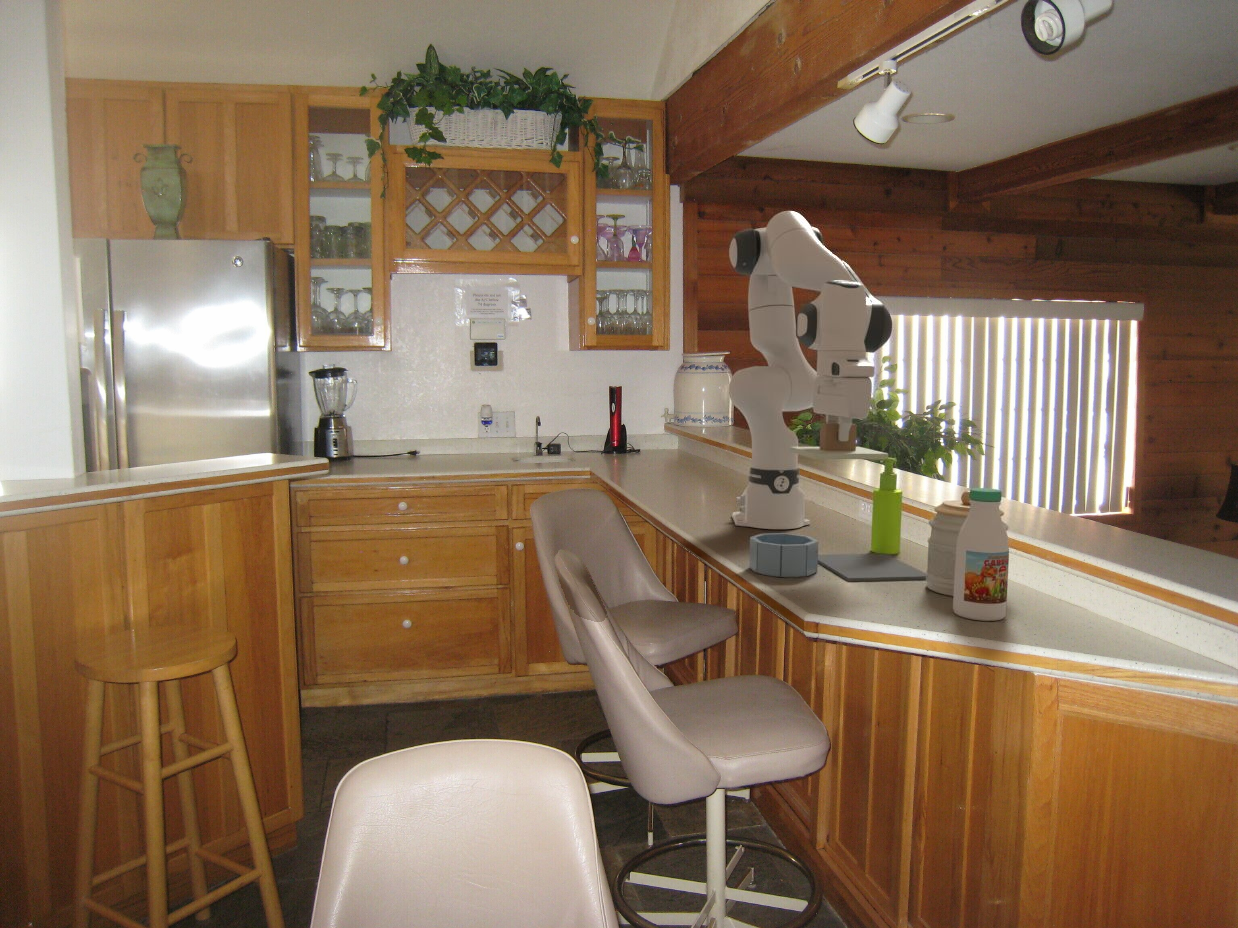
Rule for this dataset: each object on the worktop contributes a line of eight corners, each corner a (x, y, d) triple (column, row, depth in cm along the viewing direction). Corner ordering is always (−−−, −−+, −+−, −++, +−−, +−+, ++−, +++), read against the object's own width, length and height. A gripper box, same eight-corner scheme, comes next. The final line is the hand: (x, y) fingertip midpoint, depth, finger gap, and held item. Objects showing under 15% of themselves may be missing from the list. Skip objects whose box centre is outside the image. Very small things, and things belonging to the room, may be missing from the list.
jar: (1021, 594, 150) (1027, 493, 148) (971, 603, 143) (976, 498, 141) (958, 578, 161) (963, 484, 159) (909, 586, 154) (913, 488, 153)
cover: (790, 451, 171) (791, 421, 171) (858, 451, 173) (859, 421, 172) (814, 459, 157) (815, 426, 157) (888, 459, 159) (889, 426, 158)
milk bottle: (944, 614, 137) (950, 489, 134) (965, 605, 142) (971, 484, 140) (993, 625, 131) (1000, 494, 129) (1013, 615, 136) (1021, 489, 134)
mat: (809, 557, 177) (809, 554, 177) (884, 556, 179) (884, 553, 179) (848, 581, 158) (848, 578, 157) (931, 579, 160) (931, 576, 160)
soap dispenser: (872, 546, 189) (876, 455, 187) (904, 551, 185) (908, 457, 182) (861, 550, 184) (865, 457, 182) (893, 555, 180) (897, 459, 178)
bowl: (744, 563, 171) (744, 533, 171) (802, 562, 173) (803, 532, 172) (761, 578, 159) (762, 546, 159) (824, 576, 161) (825, 544, 160)
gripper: (806, 366, 173) (803, 435, 175) (844, 367, 153) (841, 444, 155) (836, 366, 174) (833, 435, 176) (879, 367, 154) (875, 444, 155)
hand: (837, 440), depth 165 cm, fingers closed on cover, 3 cm apart
